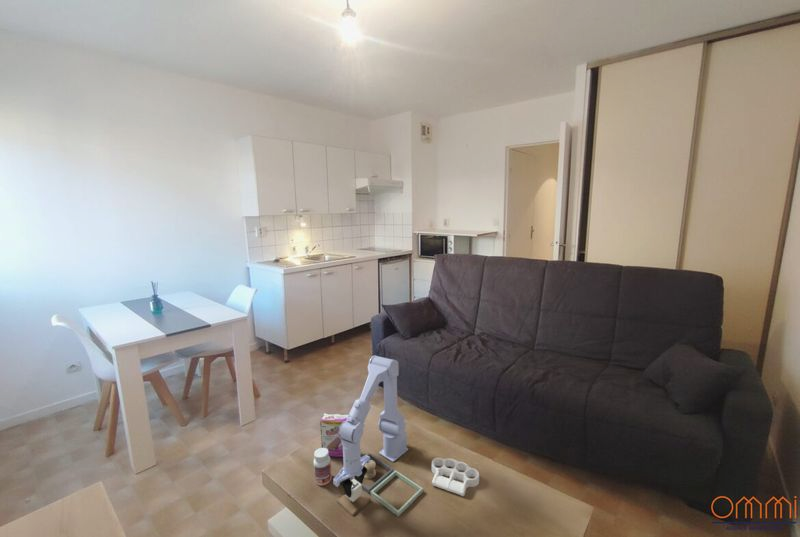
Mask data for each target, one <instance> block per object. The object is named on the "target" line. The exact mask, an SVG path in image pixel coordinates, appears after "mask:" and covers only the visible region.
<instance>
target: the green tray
mask: <svg viewBox="0 0 800 537" xmlns="http://www.w3.org/2000/svg"><path fill="white" fill-rule="evenodd" d="M394 477H397V478H398V479H401V480H402V481H403V482H405V483H406V484H408V485H409V486H411V487H413V488H414V489H415V490H416V492H415V493H414V494H413V495H412V496H411V497H410V498H409V499H408V500H407V501H406V502H405V503H404V504H403V505H402V506H401V507H400V508H399V509H397V508H396V507H394V506H393V505H391V503H389V502H388V501H386V500H385V499H383V498H382V497H381V496H380V495H378V494H377V492H378V491H380V490H381V489H382V488H383V487H384V486H385V485H387V483H389V482H390V481H392V479H393V478H394ZM423 493H424V487H422V486H420V485H419V484H417V483H416V482H414V481H412V480H411V479H410V478H408V477H406V476H405V475H403V474H402V473H401V472H399V471H398V470H394V472H393V473H392V474H390V475H389V476H388V477H387V478H386V479H385V480H383V481H382V482H381V483H380V484H379V485H378V486H376V487H375V488H374V489H373V490H372V491H370V493H369V494H370V496H371V497H372V498H373V499H375V500H377V502H379V503H380V504H381V505H383V506H384V507H385V508H386V509H388V510H389V511H390V512H392V514H394V515H395V516H396V517H400V516H401V515H402V514H403V513H404V512H405V511H406V510H407V509H408V508H409V507H410V506H411V505H412V504H413V503H414V502H415V500H417V499H418V498H419V496H421V495H422V494H423Z"/></svg>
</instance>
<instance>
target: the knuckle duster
mask: <svg viewBox="0 0 800 537" xmlns="http://www.w3.org/2000/svg"><path fill="white" fill-rule="evenodd" d="M449 467H451V468H449ZM431 473H432V474H433V478H432V481H431V485H432V486H433V487H437V488H438V489H443V490H445V491H446V492H451V493H453V494H456V495H459V496H461V497H464V496H465V495H466V492H467V489H468V488H473V487H477V486H478V485H479V483H480V472H479V471H478V470H477V468H473V467H471V466H469V465H468V464H467V463H465V462H464V461H459V460H456V459H455V458H442V457H435V458H433V459H432V460H431ZM445 476H446V477H445ZM448 477H449V478H448ZM471 477H472V478H471ZM461 481H462V482H461Z"/></svg>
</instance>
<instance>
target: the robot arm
mask: <svg viewBox="0 0 800 537" xmlns="http://www.w3.org/2000/svg"><path fill="white" fill-rule="evenodd" d="M399 371H400V370H399V361H398V360H396V359H392V358H387V357H383V356H378V355H376V354H375V355H372V356H371V357H370V358H369V360H368V365H367V373H368V374H367V378H366V380H365V383H364V386H363V389H362V392H361V394H360V397H358V398H357V399H355V400H354V402H353V404H352V407H351V409H350V411H349V413H348V414H347V415H348V418H347V420H346V421H344V422H343V423H342V424H341V425H340V428H339V433H338V437H339V438H340V439H341V443H342V444H343V457H342V459H343V460H342V462H343V466H342V468H341V469H340V470H339V472H338V473H337V475H336V476H335V477H333V479H332V480H333V482H332V483H333V485H334V486H335V487H336V488H338V487H340V484H341V486H342V489H343V490H344V494H346V495H347V496H348V497H349V498H350V497H351V488H352V484H353V482H352V481H351V480H350V478H351V477H355V480H357V481H358V482H359V483H360V484H362V483H363V482H364V479H365V478H364V476H365V474H366V473H367V468H366V467H364V466H365V464H366V463H369V462H370V460H371V458H370V457H369V456H367V455H368V454H365V455H363V456H361V439H362V438H363V434H364V428H365V422H366V419H367V416H368V414H369V412H370V409H371V404H370V403H371V400H372V398H373V397H374V394H375V392H376V390H377V389H378V387H379V384H380V383H381V382H383V404H384V406H383V407H384V410H382V411H381V412H380V414H379V419H378V423H377V424H378V425H377V426H378V430H379V431H381V434H382V437H383V440H382V441H383V442H382V443H383V445H382V446H383V448H382V449H381V450H380V451H379V452H378V453H379V455H381V456H383V457H384V458H385V459H388V460H389V461H390V462H392V463H393V462H395V461H396V460H398V459H399V458H401V457H402V456H403V455H404V454H405V453H407V452H408V451H409V448H408V447H407V446H408V445H407V442H408V441H407V437H408V436H407V433H406V428H407V427H406V425H407V424H406V421H405V416H404V415H403V413H402V412H401V411H399V408H398V377H399V373H400V372H399Z"/></svg>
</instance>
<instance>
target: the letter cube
mask: <svg viewBox="0 0 800 537" xmlns="http://www.w3.org/2000/svg"><path fill="white" fill-rule="evenodd" d="M351 481H352V482H353V484H352V488H351V497H350V498H349V497H348V496H347V495H346V494H345V493H344V494H345V496H346V497H348V498H349V499H350V500H351V501H352V502H354V501H355V500H356V499H357V498H359V497H360V496H361V495H362V492H363V489H362V484H360V483H359V482H358V481H357V480H355V479H353V480H351Z"/></svg>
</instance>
